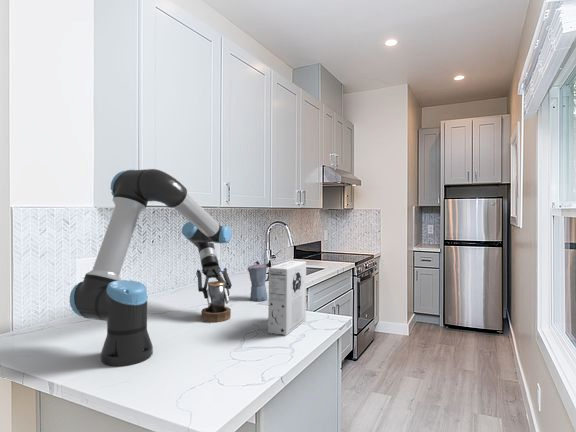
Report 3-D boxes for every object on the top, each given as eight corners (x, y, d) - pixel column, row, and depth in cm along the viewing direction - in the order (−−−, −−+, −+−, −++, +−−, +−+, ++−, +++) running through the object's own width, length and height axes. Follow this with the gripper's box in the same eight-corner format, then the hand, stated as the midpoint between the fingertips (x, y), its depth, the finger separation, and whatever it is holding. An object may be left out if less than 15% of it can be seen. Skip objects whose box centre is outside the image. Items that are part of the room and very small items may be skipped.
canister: (227, 311, 159) (227, 283, 159) (211, 313, 156) (211, 285, 155) (221, 307, 165) (221, 280, 165) (205, 309, 162) (205, 282, 161)
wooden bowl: (234, 319, 158) (234, 311, 158) (207, 323, 152) (207, 315, 152) (224, 312, 168) (224, 304, 168) (198, 316, 162) (198, 308, 162)
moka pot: (241, 300, 191) (242, 261, 191) (263, 295, 202) (263, 258, 202) (254, 303, 185) (254, 263, 184) (276, 298, 196) (276, 260, 195)
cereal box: (289, 317, 161) (290, 260, 161) (306, 320, 158) (306, 261, 158) (267, 333, 141) (268, 267, 141) (286, 336, 138) (286, 269, 138)
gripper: (228, 263, 178) (239, 305, 164) (185, 266, 169) (193, 310, 155) (231, 253, 173) (243, 296, 159) (188, 256, 164) (196, 301, 150)
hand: (218, 303), depth 157 cm, fingers closed on canister, 7 cm apart
